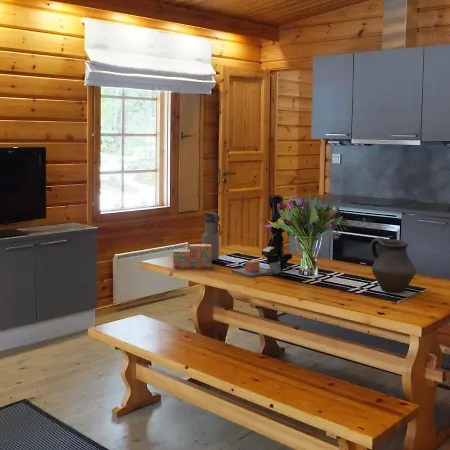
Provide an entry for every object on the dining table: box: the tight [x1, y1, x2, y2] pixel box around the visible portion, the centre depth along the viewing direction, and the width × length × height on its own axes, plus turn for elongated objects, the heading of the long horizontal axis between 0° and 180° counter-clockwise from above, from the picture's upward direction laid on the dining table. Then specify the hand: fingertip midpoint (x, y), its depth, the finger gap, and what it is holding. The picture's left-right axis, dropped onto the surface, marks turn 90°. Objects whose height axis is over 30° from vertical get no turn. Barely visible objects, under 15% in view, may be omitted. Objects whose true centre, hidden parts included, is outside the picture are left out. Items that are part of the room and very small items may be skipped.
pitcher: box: [370, 236, 417, 293], centre depth 307 cm, size 21×22×25 cm
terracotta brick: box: [244, 259, 261, 272], centre depth 344 cm, size 6×4×5 cm
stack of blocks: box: [172, 243, 213, 269], centre depth 360 cm, size 21×6×12 cm, turn 98°
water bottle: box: [201, 211, 221, 262], centre depth 379 cm, size 10×10×28 cm
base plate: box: [231, 267, 274, 278], centre depth 345 cm, size 16×16×1 cm
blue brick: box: [269, 262, 284, 274], centre depth 347 cm, size 6×4×5 cm
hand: (276, 269), depth 347 cm, fingers open, 8 cm apart
